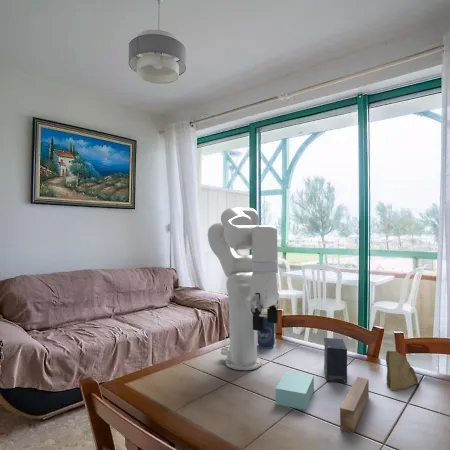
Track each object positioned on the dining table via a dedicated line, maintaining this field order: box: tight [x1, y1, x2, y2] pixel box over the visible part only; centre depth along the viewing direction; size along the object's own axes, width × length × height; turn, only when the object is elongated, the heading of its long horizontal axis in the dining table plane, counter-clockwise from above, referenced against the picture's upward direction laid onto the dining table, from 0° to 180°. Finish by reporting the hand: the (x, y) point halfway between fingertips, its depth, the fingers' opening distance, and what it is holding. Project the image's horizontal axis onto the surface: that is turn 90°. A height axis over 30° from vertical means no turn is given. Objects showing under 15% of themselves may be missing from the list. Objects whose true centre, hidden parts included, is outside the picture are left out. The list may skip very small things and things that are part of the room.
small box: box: [323, 337, 348, 384], centre depth 111 cm, size 11×6×10 cm, turn 168°
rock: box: [385, 350, 420, 392], centre depth 104 cm, size 11×9×10 cm
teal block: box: [275, 371, 315, 411], centre depth 97 cm, size 8×12×4 cm, turn 156°
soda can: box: [257, 313, 276, 349], centre depth 140 cm, size 7×7×12 cm
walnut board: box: [339, 376, 370, 434], centre depth 89 cm, size 3×20×5 cm, turn 149°
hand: (265, 326), depth 102 cm, fingers open, 9 cm apart
